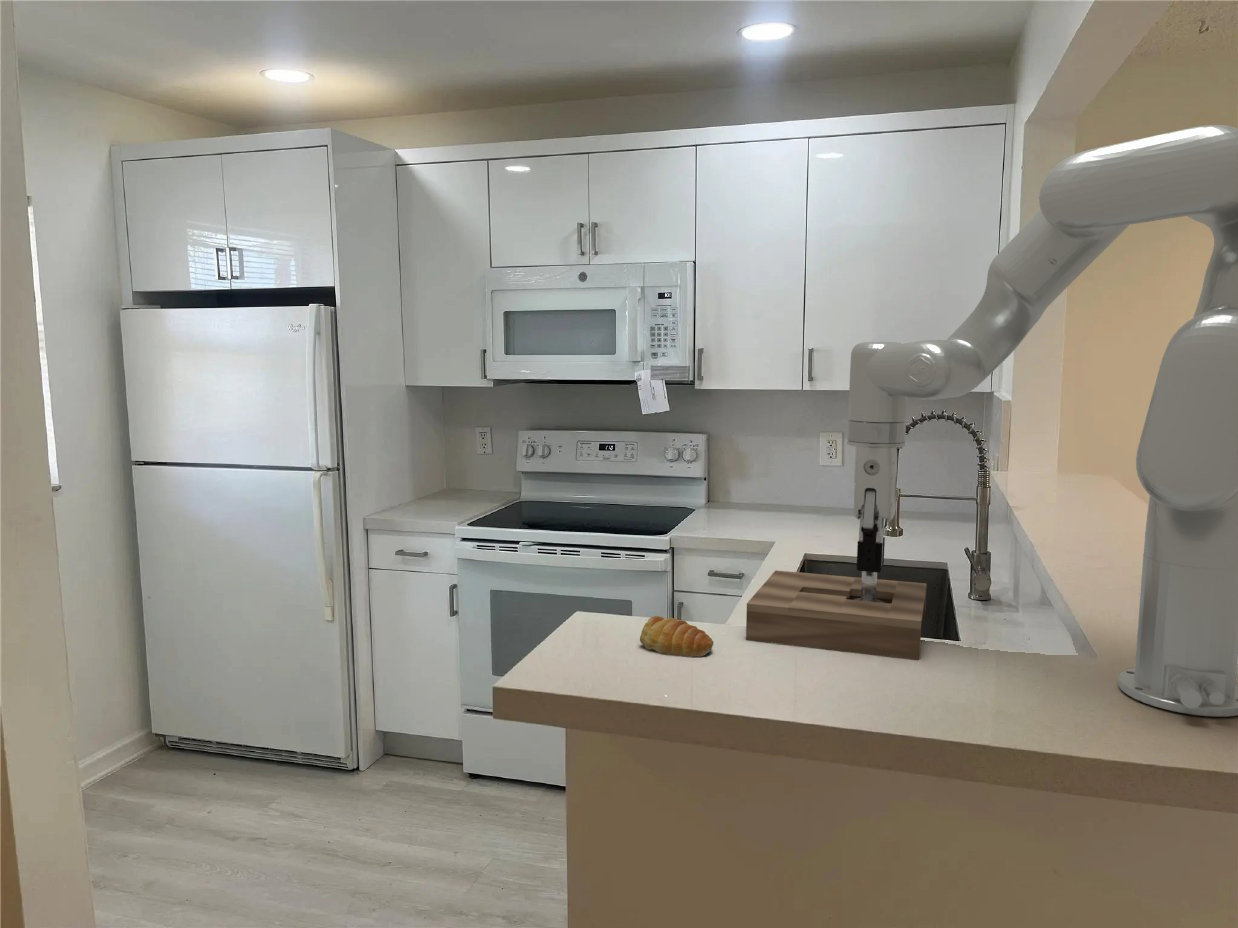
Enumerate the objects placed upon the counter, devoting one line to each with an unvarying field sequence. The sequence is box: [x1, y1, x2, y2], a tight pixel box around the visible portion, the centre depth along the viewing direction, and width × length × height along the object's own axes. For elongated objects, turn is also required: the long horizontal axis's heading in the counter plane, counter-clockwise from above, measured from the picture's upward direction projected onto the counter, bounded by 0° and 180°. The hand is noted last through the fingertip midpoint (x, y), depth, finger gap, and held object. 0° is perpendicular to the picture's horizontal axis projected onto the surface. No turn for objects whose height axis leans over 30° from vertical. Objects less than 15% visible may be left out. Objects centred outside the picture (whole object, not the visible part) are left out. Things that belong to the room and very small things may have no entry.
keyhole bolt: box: [853, 527, 885, 603], centre depth 122 cm, size 4×4×12 cm
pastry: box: [639, 615, 715, 658], centre depth 116 cm, size 9×7×4 cm
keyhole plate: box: [745, 569, 927, 661], centre depth 124 cm, size 20×22×5 cm
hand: (870, 566), depth 122 cm, fingers closed on keyhole bolt, 3 cm apart
